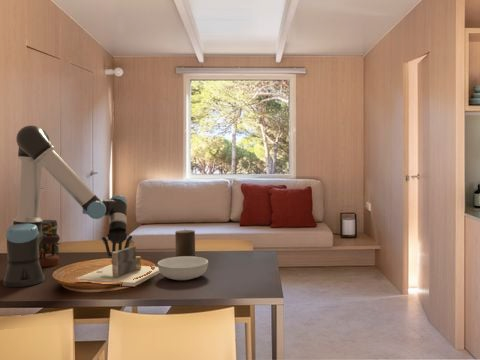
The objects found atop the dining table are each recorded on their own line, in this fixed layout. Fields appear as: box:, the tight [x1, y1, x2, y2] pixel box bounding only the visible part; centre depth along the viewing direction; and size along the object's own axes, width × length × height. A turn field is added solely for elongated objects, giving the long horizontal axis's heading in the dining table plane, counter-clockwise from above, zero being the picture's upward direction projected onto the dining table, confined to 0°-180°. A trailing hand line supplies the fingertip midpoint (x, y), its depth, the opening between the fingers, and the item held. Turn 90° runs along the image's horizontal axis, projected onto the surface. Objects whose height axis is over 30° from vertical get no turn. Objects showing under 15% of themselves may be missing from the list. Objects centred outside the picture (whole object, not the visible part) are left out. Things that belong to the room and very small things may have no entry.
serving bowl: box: [157, 256, 209, 281], centre depth 189 cm, size 21×21×7 cm
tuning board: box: [75, 263, 161, 287], centre depth 193 cm, size 26×27×2 cm
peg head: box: [111, 246, 142, 278], centre depth 192 cm, size 17×4×10 cm, turn 158°
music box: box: [39, 223, 61, 268], centre depth 219 cm, size 15×11×20 cm
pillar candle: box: [175, 229, 196, 257], centre depth 226 cm, size 10×10×15 cm
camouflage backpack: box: [39, 219, 59, 255], centre depth 243 cm, size 10×8×19 cm
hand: (116, 270), depth 189 cm, fingers closed
